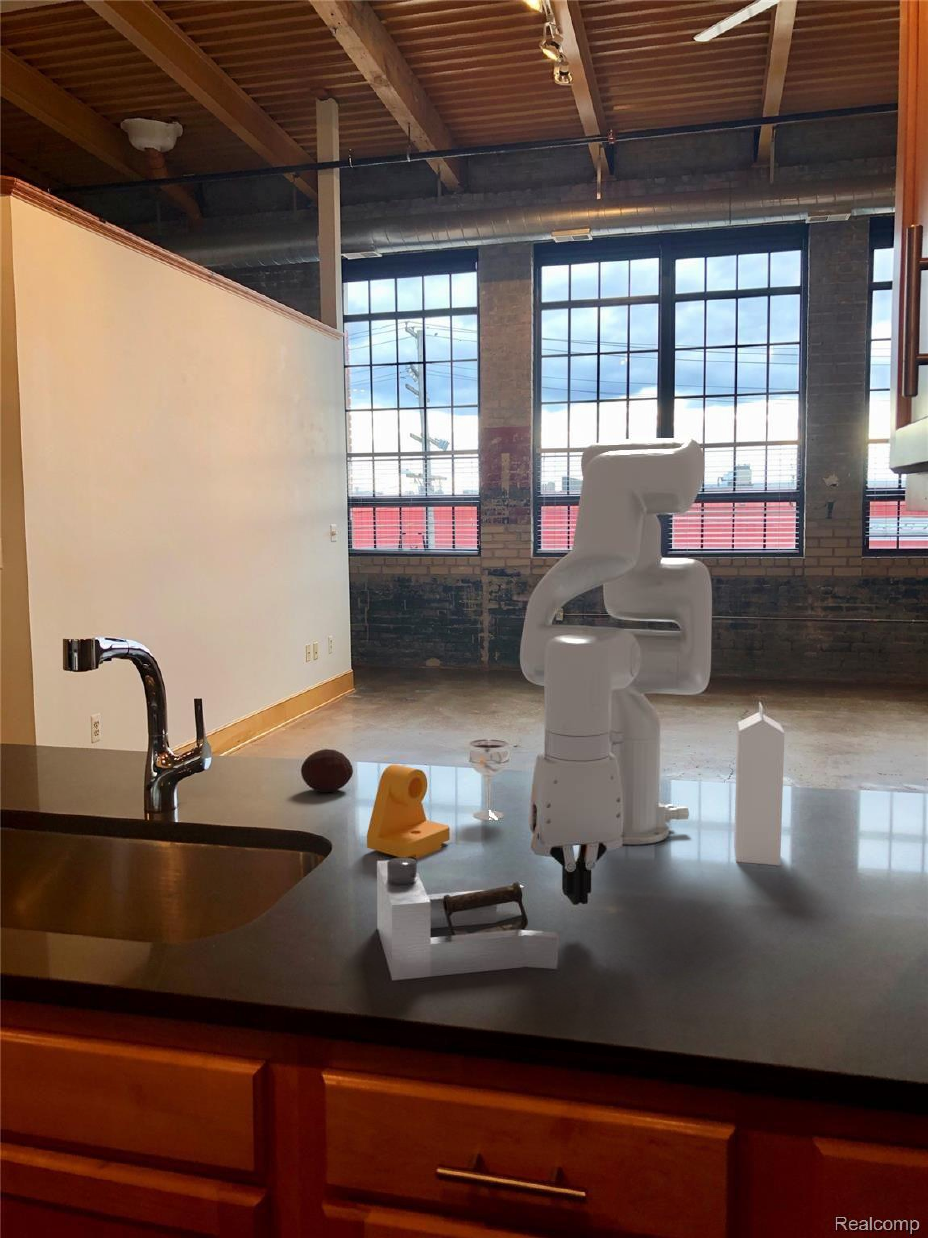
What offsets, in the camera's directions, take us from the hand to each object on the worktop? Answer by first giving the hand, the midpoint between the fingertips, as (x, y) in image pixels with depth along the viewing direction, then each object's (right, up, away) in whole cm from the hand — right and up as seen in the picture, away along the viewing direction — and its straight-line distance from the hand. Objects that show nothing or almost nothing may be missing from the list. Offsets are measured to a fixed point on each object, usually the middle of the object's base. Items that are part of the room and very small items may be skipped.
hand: (576, 899), depth 105 cm
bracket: (-21, -2, +29) cm, 36 cm away
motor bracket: (-13, -4, -3) cm, 14 cm away
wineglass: (-9, 0, +45) cm, 46 cm away
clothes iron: (-11, -5, -5) cm, 13 cm away
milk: (+29, -2, +25) cm, 38 cm away
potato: (-38, +1, +59) cm, 70 cm away
